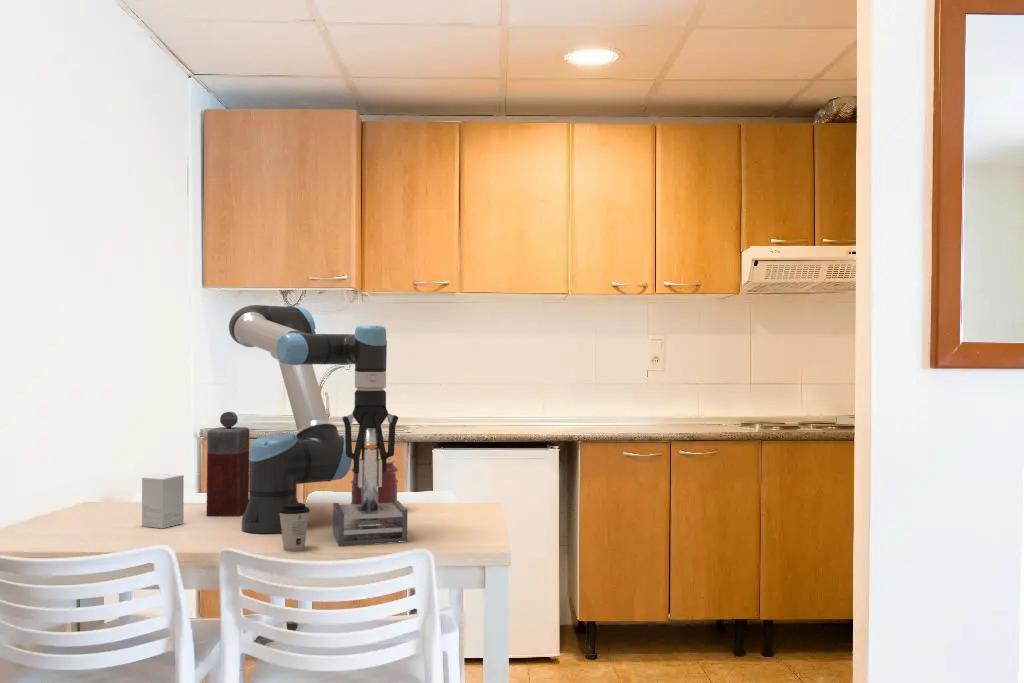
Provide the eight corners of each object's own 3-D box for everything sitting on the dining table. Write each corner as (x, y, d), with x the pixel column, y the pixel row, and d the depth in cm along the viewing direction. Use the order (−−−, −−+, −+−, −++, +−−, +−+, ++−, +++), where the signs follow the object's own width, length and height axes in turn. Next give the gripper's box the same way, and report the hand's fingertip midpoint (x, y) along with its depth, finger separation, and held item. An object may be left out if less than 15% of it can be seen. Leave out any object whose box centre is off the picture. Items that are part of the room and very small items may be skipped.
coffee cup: (307, 551, 196) (307, 507, 197) (275, 552, 196) (275, 507, 196) (311, 545, 203) (312, 501, 203) (281, 545, 203) (281, 502, 203)
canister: (383, 505, 256) (383, 444, 256) (406, 512, 246) (406, 448, 246) (342, 510, 248) (343, 447, 248) (364, 517, 238) (365, 452, 238)
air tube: (362, 520, 209) (362, 428, 209) (360, 517, 213) (360, 427, 213) (379, 520, 210) (380, 428, 210) (376, 516, 214) (377, 426, 214)
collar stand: (338, 545, 202) (338, 513, 203) (332, 533, 216) (333, 503, 216) (407, 542, 207) (407, 510, 207) (397, 530, 220) (397, 500, 221)
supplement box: (184, 523, 227) (184, 475, 227) (162, 529, 220) (162, 478, 220) (163, 521, 230) (163, 473, 230) (140, 526, 223) (141, 476, 224)
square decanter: (251, 508, 249) (252, 410, 249) (239, 516, 238) (239, 412, 238) (220, 508, 249) (221, 409, 249) (206, 516, 238) (207, 412, 238)
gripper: (336, 390, 206) (335, 490, 206) (408, 389, 211) (407, 487, 210) (333, 389, 213) (332, 485, 213) (402, 388, 218) (402, 482, 218)
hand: (369, 486), depth 212 cm, fingers closed on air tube, 4 cm apart
